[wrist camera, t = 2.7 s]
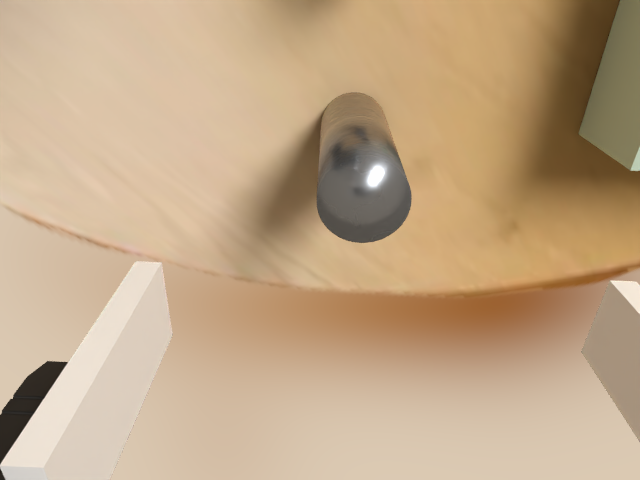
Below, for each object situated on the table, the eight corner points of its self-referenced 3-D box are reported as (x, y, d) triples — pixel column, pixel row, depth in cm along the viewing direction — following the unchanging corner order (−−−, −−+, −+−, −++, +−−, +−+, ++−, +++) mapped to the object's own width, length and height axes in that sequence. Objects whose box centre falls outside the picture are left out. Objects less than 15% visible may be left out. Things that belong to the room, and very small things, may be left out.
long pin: (320, 154, 31) (315, 240, 21) (322, 91, 29) (318, 155, 19) (382, 157, 31) (405, 244, 21) (388, 93, 29) (417, 158, 19)
